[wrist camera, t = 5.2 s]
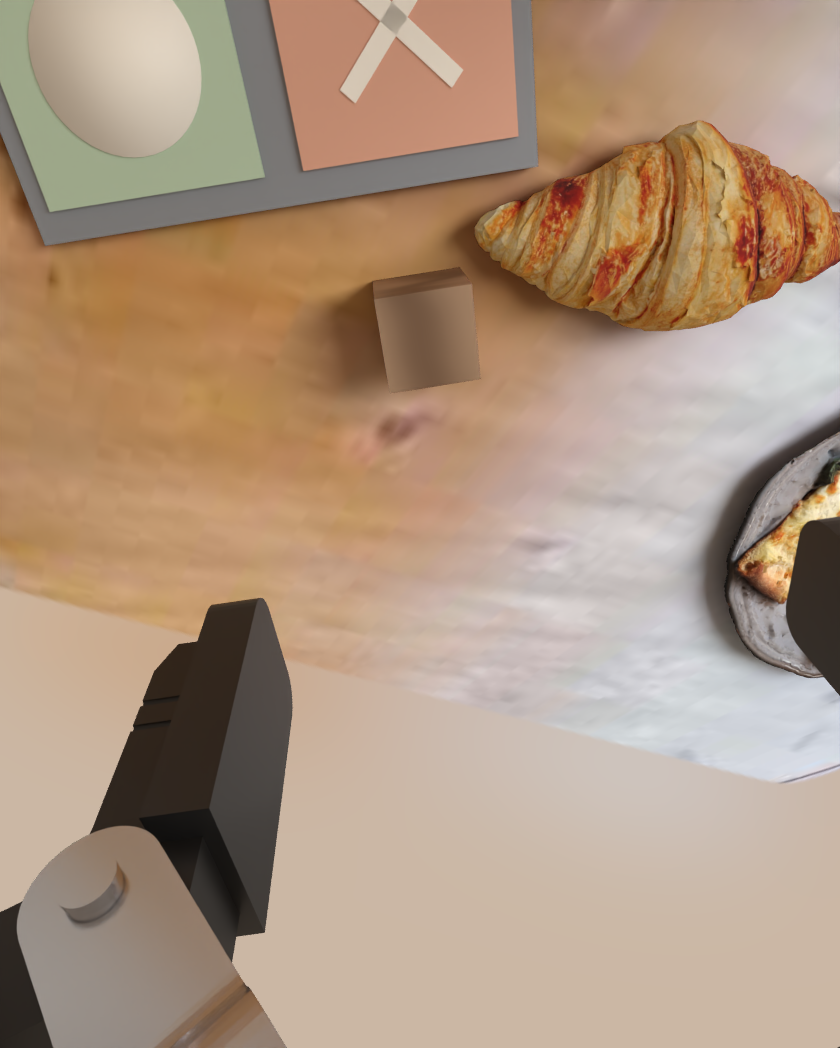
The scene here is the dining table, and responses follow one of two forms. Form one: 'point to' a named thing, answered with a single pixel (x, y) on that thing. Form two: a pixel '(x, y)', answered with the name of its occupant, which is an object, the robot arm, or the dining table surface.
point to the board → (254, 104)
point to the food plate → (779, 553)
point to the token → (427, 329)
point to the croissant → (668, 233)
